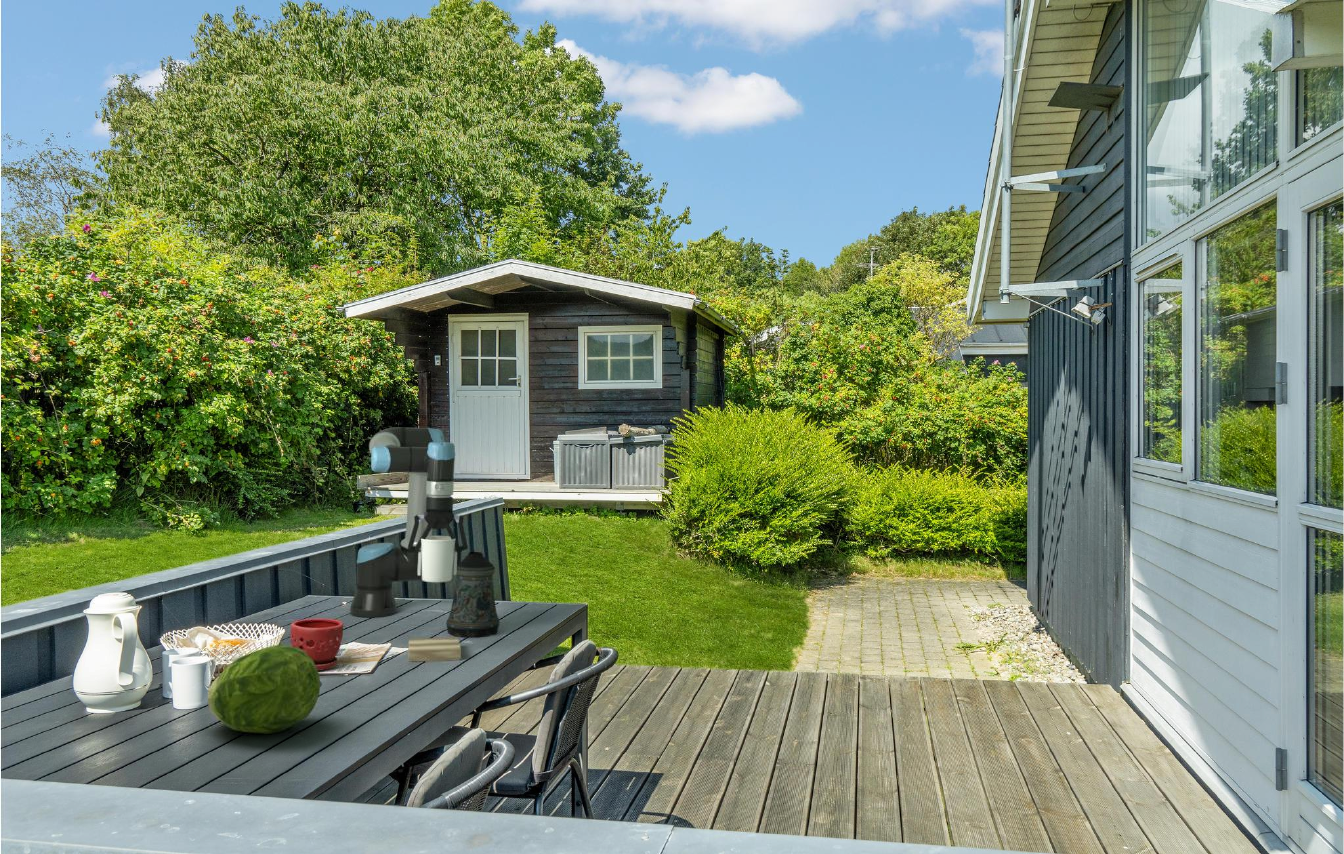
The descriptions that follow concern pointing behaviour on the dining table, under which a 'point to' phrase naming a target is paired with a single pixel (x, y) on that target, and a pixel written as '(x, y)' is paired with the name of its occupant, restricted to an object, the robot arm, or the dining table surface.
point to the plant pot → (318, 640)
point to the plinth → (434, 649)
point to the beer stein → (473, 599)
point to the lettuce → (266, 690)
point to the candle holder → (437, 558)
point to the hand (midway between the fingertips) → (436, 574)
